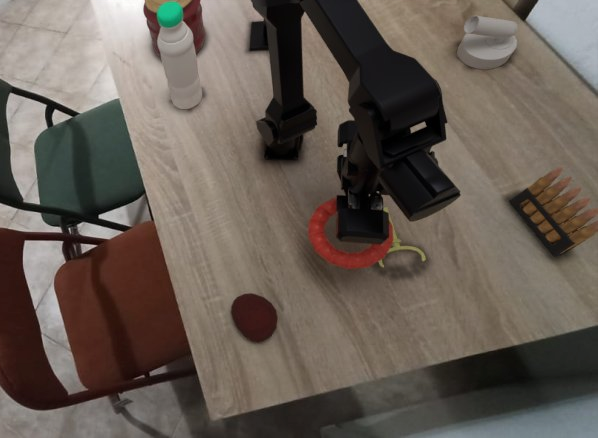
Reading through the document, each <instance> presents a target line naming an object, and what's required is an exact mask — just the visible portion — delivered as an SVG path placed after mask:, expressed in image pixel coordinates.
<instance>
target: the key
mask: <svg viewBox="0 0 598 438" xmlns="http://www.w3.org/2000/svg"><path fill="white" fill-rule="evenodd" d="M383 211H385V212H387V213H389V221H390V222H391V224H392V226H393V244H392V246H391V247H390V249H389V251H388V252H387V254H390V253H392V252H396V251H413V252H416V253H418V254H419V256H420V257H421V261H422V262H425V261H426V259H427V257H426V255H425V253H424V252H423V250H422V249H420V248H418V247H415V246H411V245H400V244H401V242H402V240H401V239H400V238H398V236H397V232H396V230H395V227H394V224H393V220H392V217H391V215H390V211H389V208H388V206H383ZM377 263H378V264H379V266H380V267H381V268H385V264H384V263H383V259H382V260H380V261H378V262H377Z"/></svg>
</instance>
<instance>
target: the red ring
mask: <svg viewBox="0 0 598 438" xmlns="http://www.w3.org/2000/svg"><path fill="white" fill-rule="evenodd" d="M336 199H337V197H333V198H330V199H328V200H327V201H325V202H323V203H322V204H320V205H318V206H317V207H316V208H315V210H314V212H313V213H312V215H311V217H310V218H309V220H308V227H307V228H308V231H307V237H308V239H309V241H310V243H311V246H312V248H313V250H314V251H315V253H316V254H317V255H319V256H320V257H321V258H322V259H323V260H325V261H326V262H327V263H328V264H331V265H333V266H337V267H339V268H343V269H347V270H354V269H366V268H369V267H371V266H373V265H375V264H376V263H379V262H378V261H380V260H382V261H383V259H384V258H385V257H386V256H387V254H388V253H387V252H388V251H389V249H390V248H392V247H393V245H392V244H393V226H394V225H393V226H392V224H391V222H390V221H389V238H388V239H387V240H386V241H385V242H384V243H383V244H381V245H379V244H369V247H367V248H365V249H363V250H361V251H356V252H347V251H344V250H341V249H338V248H337V247H335V246H334V245H333V244H332V243H331V242H330V241H329V240H328V237H327V235H326V224H327V223H328V222H329V220H330V218H331V217H333V216H335V215H337V211H336Z"/></svg>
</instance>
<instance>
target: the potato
mask: <svg viewBox="0 0 598 438" xmlns="http://www.w3.org/2000/svg"><path fill="white" fill-rule="evenodd" d="M230 310H231V312H230V313H231V317H232V320H233V322H234V325H235V326H236V328H237V329H238V330H239V332H240V333H242V335H243V336H244V337H245V338H247V339H248V340H250V341H251V342H254V343H262V342H265V341H267V340H268V339H269V338H271V337H272V336H273V334H274V332H275V331H276V329H277V325H278V321H279V318H278V313H277V309H276V308H275V306H274V305H273V303H272V302H271V301H270V300H268V299H267V298H266V297H264V296H262V295H259V294H256V293H252V292H250V293H242V294H241V295H239V296H237V297H236V298H235V299H234V300H233V301H232V304H231V308H230Z"/></svg>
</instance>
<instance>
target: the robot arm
mask: <svg viewBox="0 0 598 438" xmlns="http://www.w3.org/2000/svg"><path fill="white" fill-rule="evenodd" d="M250 2H251V5H252V8H253V9H254V11H256V13H258V14H259V15H260V16H261V18H262V19H263V20H264V19H265V20H266V26H267V36H268V47H269V50H268V54H269V67H270V77H271V86H272V95H273V96H272V98H271V100H270V102H269V103H268V105H267V107H266V109H265V111H264V116H265V117H263V118H261V119H258V120H256V121H255V123H256V129H257V131H258V132H259V134H260V135H261V137H262V139H263V140H264V152H263V158H264V160H266V161H269V160H270V161H297V160H298V159H299V151H301V150H302V147H303V141H304V135H305V134H307V133H309V132H311V131H313V130H315V129H316V126H318V116H317V114H318V110H317V108H315V106H314V105H313V104H312V103H311V102H310V101H309V100H308V99H307V98H306V97H305V90H304V88H305V87H304V65H303V64H304V63H303V62H304V61H303V60H304V59H303V57H304V56H303V29H302V19H303V16H304V14H306V16H307V18H308V19H309V21H310V22H311V24H312V25H313V27H314V28H315V30H316V32H317V33H318V35H319V36H320V38H321V40H322V41H323V42H324V45H326V47H327V48H328V51H329V52H330V53H331V55H332V56H333V59H334V60H335V62H336V63H337V65H338V66H339V67H340V69H341V70H342V72H343V74H344V76H345V77H346V79H347V81H348V92H347V93H348V94H347V104H348V107H349V108H348V112H349V114H350V115H351V116H352V118H353V119H348V120H346V121H343V122H341V123H340V124H339V125H338V129H337V139H336V140H337V141H336V142H337V143H336V145H337V148H344V145H346V148H344V149H343V153H342V154H339V155H337V157H336V173H337V176H338V179H339V181H340V190H341V191H343V193H344V194H345V195H344V194H342V195H341V194H336V198H337V199H336V211H337V214H336V219H335V239H337V240H338V241H339V242H343V243H344V242H345V243H356V244H368V245H371V244H379V245H381V244H383V243H384V242H385V241H386V240H387V239H388V238H389V214H390V212H389V213H387V212H385V211H383V207H384V197H383V196H389V197H390V199H391V200H392V201H393V202H394V203H395V205H396V206H397V208H398V209H399V210H400V211H401V212H402V214H403V215H404V216H405V218H406V219H407V221H408V222H411V223H413V222H417V221H420V220H423V219H427V218H428V217H429V216H432V215H434V214H436V213H438V212H440V211H441V210H444V209H445V208H447V207H448V206H450V205H451V204H453V203H454V202H456V201H457V200H458V199H459V198H460V197H461V196H462V194H461V190H460V189H459V188H458V187H457V186H456V183H454V182H453V181H452V180H451V179H450V177H449V176H448V175H447V173H445V171H444V170H443V169H442V168H441V167H440V166H439V161H438V159H437V158H436V155H435V153H436V152H435V151H433V150H431V149H432V148H433V147H434V146H436V145H439V144H440V143H444V142H445V141H447V139H448V138H447V129H446V128H447V127H446V125H447V124H448V123H449V122H448V118H447V115H446V111H445V106H444V99H443V92H442V87H441V85H440V84H439V82H438V81H437V80H436V78H434V77H433V76H432V75H431V74H430V73H429V72H428V71H427V69H426V67H425V68H424V66H423V65H422V64H421V63H420V62H419V61H418V60H417V59H416V58H415V57H412V56H411V55H408V54H405V53H402V52H399V51H396V50H394V49H393V48H392V47H391V46H390V45H389V43H387V41H386V40H385V38H384V37H383V35H382V34H381V32H380V30H378V28H377V26H376V25H375V23H374V22H373V21H372V19H371V18H370V16H369V15H368V13H367V12H366V10H365V9H364V7H363V6H362V5H361V3H360V2H359V1H358V0H250ZM422 123H424V124H425V126H424V127H421V128H419V129H417V130H415V131H412V129H411V128H414V127H416V126H418V125H421V124H422Z"/></svg>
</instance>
